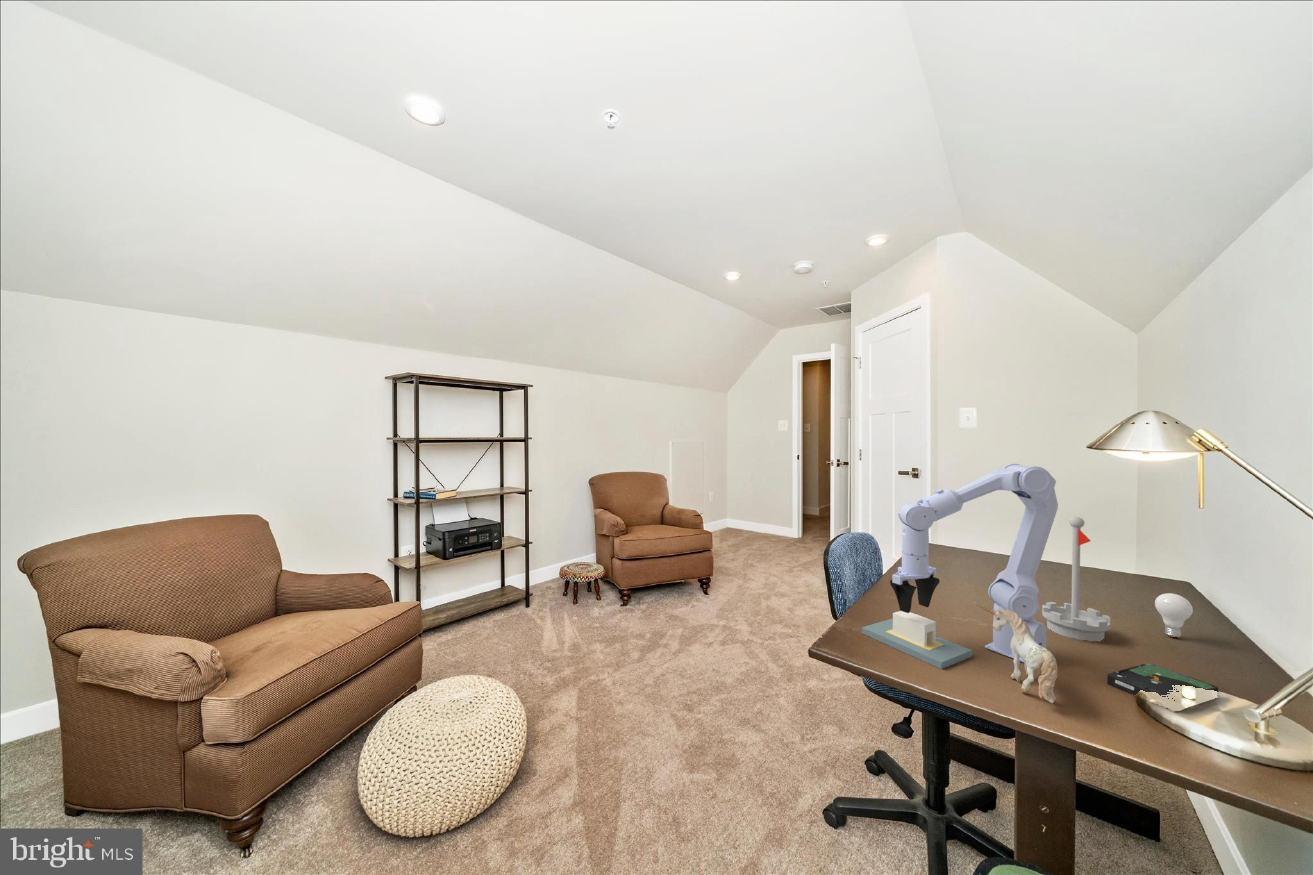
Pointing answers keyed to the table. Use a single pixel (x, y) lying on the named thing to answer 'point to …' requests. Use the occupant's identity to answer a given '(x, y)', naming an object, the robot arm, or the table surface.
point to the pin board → (919, 646)
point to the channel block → (914, 627)
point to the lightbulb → (1173, 612)
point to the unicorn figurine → (1027, 654)
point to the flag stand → (1076, 601)
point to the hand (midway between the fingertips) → (914, 608)
